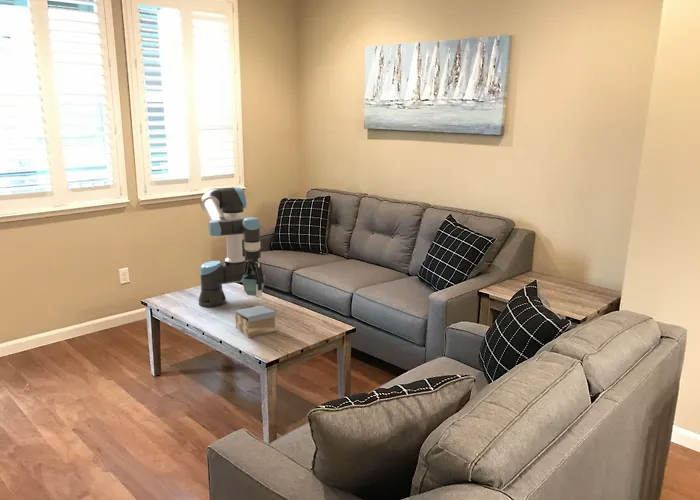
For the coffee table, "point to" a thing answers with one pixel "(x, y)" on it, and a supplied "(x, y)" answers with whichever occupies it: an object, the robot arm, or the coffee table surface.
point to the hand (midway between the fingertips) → (254, 292)
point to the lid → (256, 313)
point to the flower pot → (251, 284)
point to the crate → (255, 326)
